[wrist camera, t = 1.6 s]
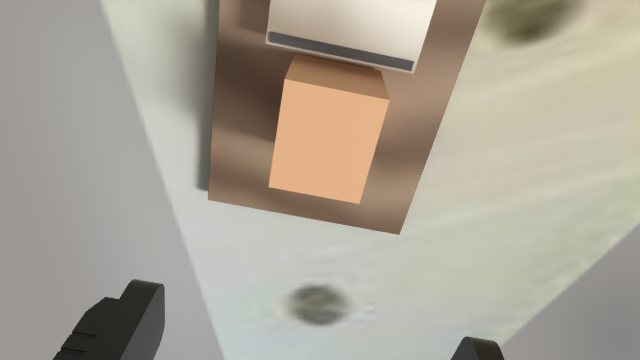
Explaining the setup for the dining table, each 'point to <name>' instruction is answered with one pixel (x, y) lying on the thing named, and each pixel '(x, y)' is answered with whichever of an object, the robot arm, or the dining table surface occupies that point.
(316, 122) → the light orange cube
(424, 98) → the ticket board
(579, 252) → the dining table surface
